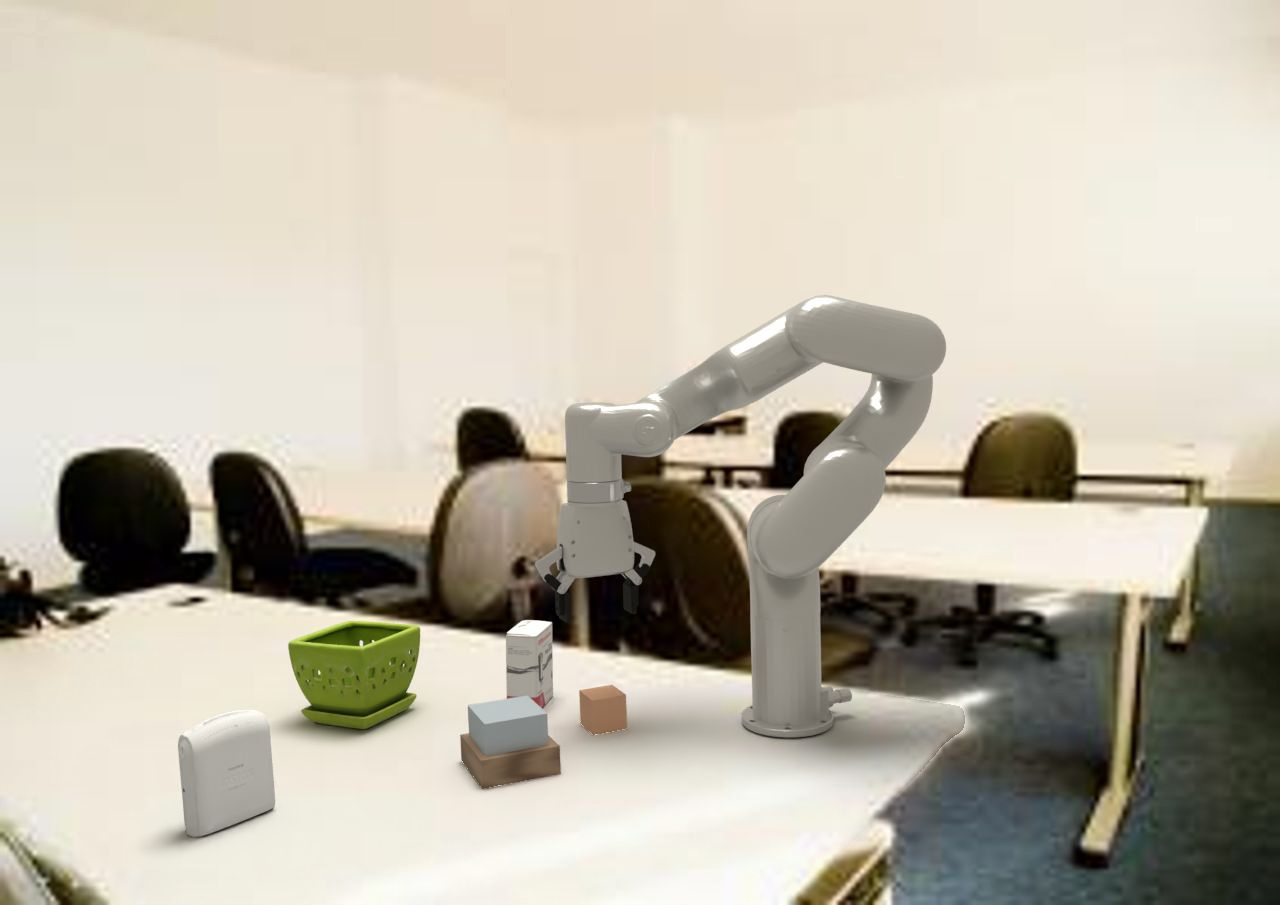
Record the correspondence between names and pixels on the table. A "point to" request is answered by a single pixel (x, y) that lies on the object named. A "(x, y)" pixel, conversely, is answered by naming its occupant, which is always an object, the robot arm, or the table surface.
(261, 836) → the table surface
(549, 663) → the ink box
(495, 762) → the walnut slab
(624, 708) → the terracotta cube
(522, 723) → the slate block
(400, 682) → the flower pot
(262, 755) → the photo printer
